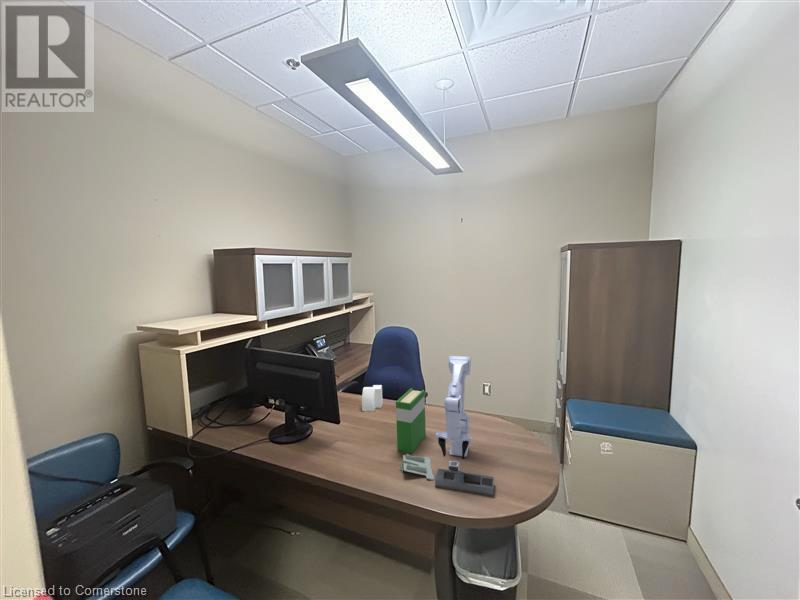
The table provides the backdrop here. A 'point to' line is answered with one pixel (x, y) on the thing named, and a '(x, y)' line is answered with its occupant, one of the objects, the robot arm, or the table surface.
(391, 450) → the table surface
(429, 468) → the metal bracket
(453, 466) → the cube with square inset
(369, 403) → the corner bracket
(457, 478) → the rail
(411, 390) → the hardback book
